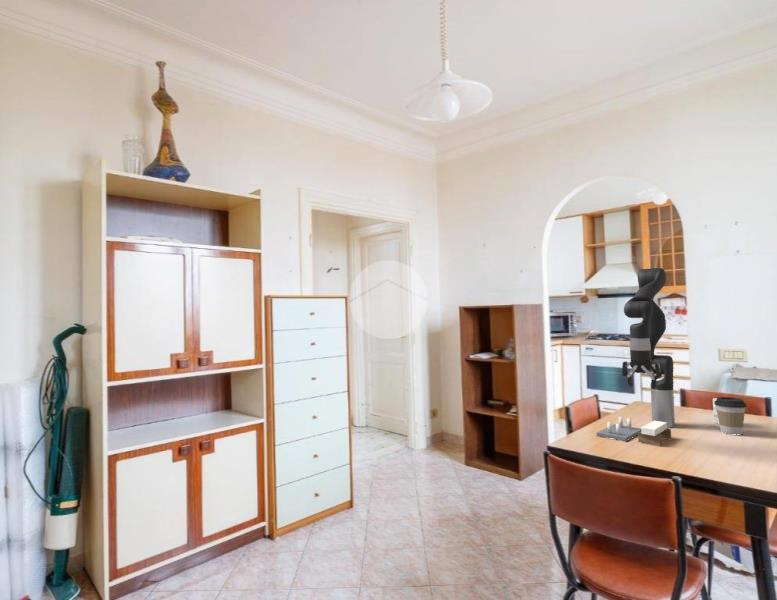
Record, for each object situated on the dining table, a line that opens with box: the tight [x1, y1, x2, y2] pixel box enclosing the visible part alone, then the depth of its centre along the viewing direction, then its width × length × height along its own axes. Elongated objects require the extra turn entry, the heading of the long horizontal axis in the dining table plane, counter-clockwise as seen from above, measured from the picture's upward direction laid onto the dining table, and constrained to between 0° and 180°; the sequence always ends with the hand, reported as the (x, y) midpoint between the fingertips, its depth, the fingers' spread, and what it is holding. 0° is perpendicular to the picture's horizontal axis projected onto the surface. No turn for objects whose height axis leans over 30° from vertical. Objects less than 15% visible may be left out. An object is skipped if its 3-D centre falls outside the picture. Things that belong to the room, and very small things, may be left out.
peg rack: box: [596, 416, 641, 442], centre depth 195 cm, size 20×12×6 cm, turn 132°
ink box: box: [712, 397, 720, 425], centre depth 206 cm, size 9×5×12 cm, turn 179°
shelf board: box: [640, 420, 668, 436], centre depth 185 cm, size 16×5×2 cm, turn 132°
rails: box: [637, 428, 672, 447], centre depth 184 cm, size 15×8×4 cm, turn 132°
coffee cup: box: [714, 396, 747, 436], centre depth 193 cm, size 11×11×15 cm
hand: (642, 387), depth 183 cm, fingers open, 8 cm apart
